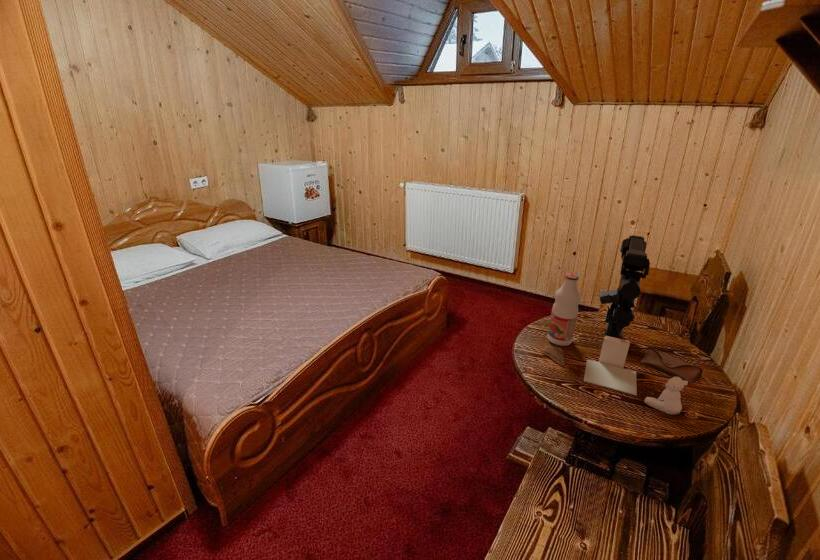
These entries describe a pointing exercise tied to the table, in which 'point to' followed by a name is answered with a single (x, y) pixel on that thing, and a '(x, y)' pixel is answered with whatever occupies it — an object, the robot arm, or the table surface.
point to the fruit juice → (564, 312)
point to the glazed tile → (614, 351)
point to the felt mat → (611, 377)
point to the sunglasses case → (672, 365)
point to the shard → (554, 354)
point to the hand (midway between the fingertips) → (618, 326)
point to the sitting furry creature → (669, 397)
